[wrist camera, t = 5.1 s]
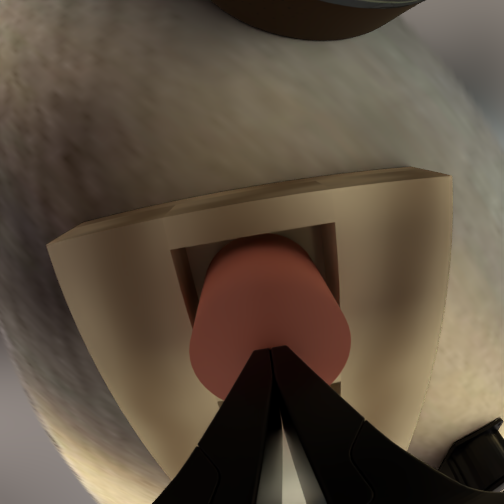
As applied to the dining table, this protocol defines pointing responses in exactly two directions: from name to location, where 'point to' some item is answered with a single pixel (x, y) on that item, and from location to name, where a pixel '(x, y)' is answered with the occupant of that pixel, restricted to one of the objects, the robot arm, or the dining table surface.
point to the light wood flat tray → (325, 259)
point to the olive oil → (316, 16)
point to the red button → (265, 312)
